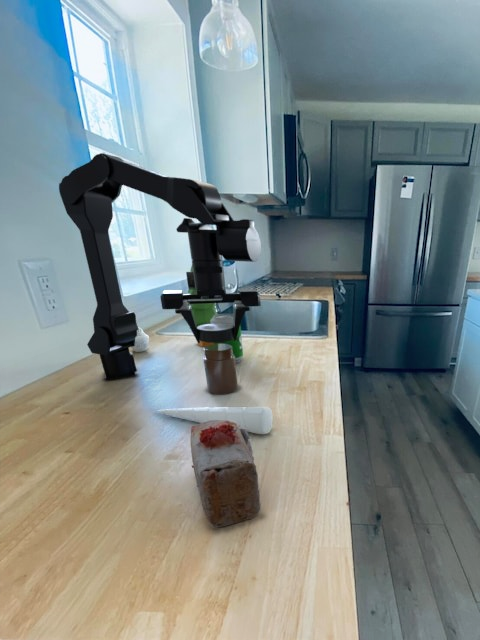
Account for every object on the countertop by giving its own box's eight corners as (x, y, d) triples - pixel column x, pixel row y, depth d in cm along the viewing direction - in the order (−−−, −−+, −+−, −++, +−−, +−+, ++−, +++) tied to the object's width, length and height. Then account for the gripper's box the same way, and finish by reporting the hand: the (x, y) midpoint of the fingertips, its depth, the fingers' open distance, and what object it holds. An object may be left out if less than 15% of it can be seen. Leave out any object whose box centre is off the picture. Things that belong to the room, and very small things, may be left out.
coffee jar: (211, 396, 78) (205, 352, 74) (204, 386, 83) (198, 345, 79) (241, 391, 81) (237, 349, 77) (233, 381, 86) (229, 341, 82)
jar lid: (232, 333, 81) (231, 322, 80) (236, 341, 75) (234, 329, 74) (198, 335, 79) (196, 324, 78) (199, 343, 73) (197, 331, 72)
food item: (192, 472, 53) (180, 411, 49) (246, 460, 56) (240, 402, 51) (205, 533, 42) (192, 462, 38) (272, 515, 45) (267, 447, 41)
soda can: (240, 365, 97) (235, 319, 92) (212, 364, 97) (206, 318, 92) (246, 357, 104) (242, 313, 98) (219, 356, 104) (214, 313, 98)
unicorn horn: (170, 406, 73) (166, 383, 71) (275, 428, 66) (274, 403, 64) (153, 415, 69) (147, 392, 67) (262, 440, 62) (261, 414, 60)
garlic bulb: (128, 348, 109) (123, 325, 106) (151, 346, 112) (146, 323, 108) (128, 354, 104) (122, 329, 101) (151, 352, 107) (146, 327, 103)
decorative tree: (221, 347, 112) (208, 237, 98) (189, 349, 110) (171, 236, 96) (221, 340, 120) (209, 237, 106) (191, 341, 118) (175, 236, 104)
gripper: (250, 258, 79) (255, 330, 87) (157, 257, 74) (171, 335, 81) (258, 261, 70) (263, 342, 77) (153, 261, 65) (169, 348, 72)
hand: (217, 341), depth 77 cm, fingers closed on jar lid, 7 cm apart
